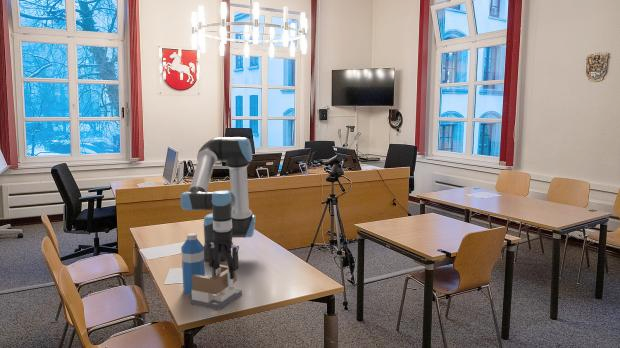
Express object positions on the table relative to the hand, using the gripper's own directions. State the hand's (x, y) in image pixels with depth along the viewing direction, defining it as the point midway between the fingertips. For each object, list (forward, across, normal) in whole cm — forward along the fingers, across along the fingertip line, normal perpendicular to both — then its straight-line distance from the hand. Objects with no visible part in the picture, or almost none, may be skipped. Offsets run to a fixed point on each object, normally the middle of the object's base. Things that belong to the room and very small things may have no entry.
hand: (224, 285), depth 187 cm
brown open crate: (+1, -4, 0) cm, 5 cm away
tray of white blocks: (+10, -4, 0) cm, 11 cm away
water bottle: (+7, -18, +4) cm, 20 cm away
